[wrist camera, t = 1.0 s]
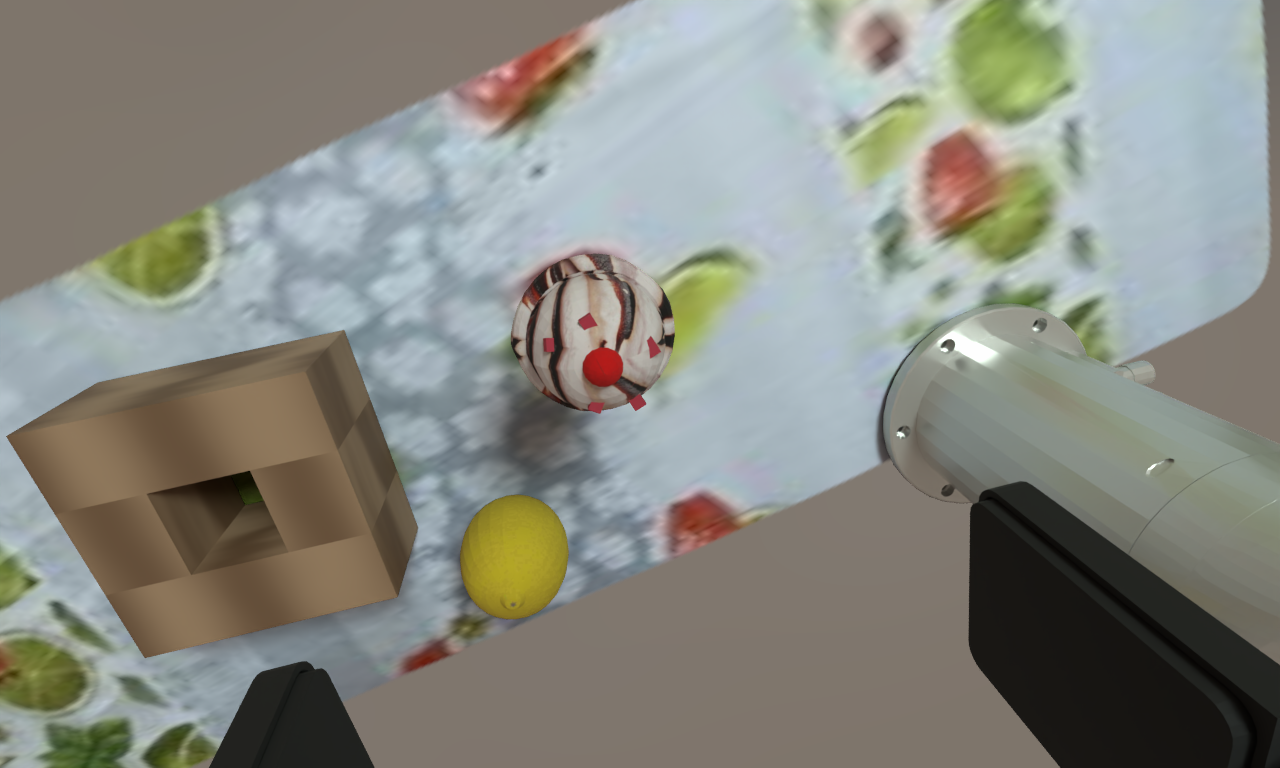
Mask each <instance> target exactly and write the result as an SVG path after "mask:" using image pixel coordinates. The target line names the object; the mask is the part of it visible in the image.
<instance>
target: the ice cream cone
mask: <svg viewBox="0 0 1280 768" xmlns="http://www.w3.org/2000/svg"><path fill="white" fill-rule="evenodd" d="M674 337H675V331H674V318H673V314H672V310H671V305H670V302H669V300H668V298H667V296H666V295H665V293H664V291H663V289H662V288H661V287H660V286H659V285H658V284H657V283H656V282H655V281H654V280H653V279H652V278H651V277H650V276H649V275H647V274H646V273H645V272H643V271H642V270H641V269H639V268H638V267H636V266H634V265H633V264H631V263H629V262H627V261H626V260H623V259H620V258H617V257H615V256H612V255H603V254H588V255H579V256H575V257H571V258H568V259H564V260H561V261H559V262H557V263H555V264H553V265H551V266H549V267H548V268H547V269H546V270H545V271H543V272H542V273H541V274H540V275H539V276H538V277H537V278H536V279H535V280H534V281H533V282H532V284H531V285H530V286H529V288H528V289H527V290H526V292H525V293H524V295H523V297H522V299H521V301H520V303H519V305H518V308H517V311H516V314H515V317H514V320H513V325H512V331H511V345H512V348H513V351H514V353H515V355H516V357H517V358H518V360H519V363H520V365H521V367H522V369H523V370H524V372H525V374H526V375H527V377H528V378H529V380H530V381H531V382H532V383H533V384H534V385H535V386H536V388H537V389H538V390H539V391H540V392H542V393H543V394H545V395H546V396H547V397H549V398H550V399H552V400H553V401H555V402H557V403H560V404H562V405H564V406H566V407H569V408H573V409H577V410H581V411H593V412H596V413H599V414H600V413H601V410H607V409H613V408H616V407H619V406H622V405H625V404H627V403H629V402H630V403H631V405H632V406H633V408H634V409H635V411H636V410H638V409H640V408H641V407H643V406H644V405H646V402H645V401H644V399H643V398H642V396H641V395H643V394H644V393H645V392H646V391H647V390H649V389H650V388H651V387H652V385H653V384H654V383H655V382H656V381H657V380H658V378H659V377H660V376H661V374H662V372H663V371H664V369H665V367H666V366H667V364H668V361H669V358H670V356H671V353H672V350H673V343H674Z"/></svg>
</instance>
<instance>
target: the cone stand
mask: <svg viewBox="0 0 1280 768" xmlns="http://www.w3.org/2000/svg"><path fill="white" fill-rule="evenodd" d="M6 437H7V438H8V440H9V442H10V443H11V445H12V446H13V448H14V450H15V451H16V453H17V454H18V456H19V458H20V459H21V461H22V462H23V464H24V466H25V467H26V469H27V470H28V472H29V474H30V475H31V477H32V478H33V480H34V482H35V483H36V485H37V486H38V488H39V490H40V491H41V493H42V494H43V496H44V498H45V499H46V501H47V502H48V504H49V506H50V507H51V509H52V510H53V512H54V514H55V515H56V517H57V518H58V520H59V522H60V523H61V525H62V526H63V528H64V530H65V531H66V533H67V534H68V536H69V538H70V539H71V541H72V542H73V544H74V546H75V547H76V549H77V550H78V552H79V554H80V555H81V557H82V558H83V560H84V562H85V563H86V565H87V566H88V568H89V570H90V571H91V573H92V574H93V576H94V578H95V579H96V581H97V582H98V584H99V586H100V587H101V589H102V590H103V592H104V594H105V595H106V597H107V598H108V600H109V602H110V603H111V605H112V606H113V608H114V610H115V611H116V613H117V614H118V616H119V618H120V619H121V621H122V622H123V624H124V626H125V627H126V629H127V630H128V632H129V634H130V635H131V637H132V638H133V640H134V642H135V643H136V645H137V646H138V648H139V650H140V651H141V653H142V654H143V656H144V658H147V657H151V656H156V655H160V654H164V653H168V652H172V651H176V650H181V649H185V648H189V647H193V646H197V645H201V644H205V643H210V642H214V641H218V640H222V639H226V638H230V637H235V636H239V635H243V634H247V633H251V632H255V631H259V630H264V629H268V628H272V627H276V626H280V625H284V624H289V623H293V622H297V621H301V620H305V619H309V618H313V617H318V616H322V615H326V614H330V613H334V612H338V611H343V610H347V609H351V608H355V607H359V606H363V605H367V604H372V603H376V602H380V601H384V600H388V599H392V598H396V597H398V594H399V591H400V587H401V584H402V580H403V577H404V574H405V570H406V567H407V563H408V560H409V557H410V553H411V550H412V547H413V543H414V540H415V536H416V533H417V530H418V526H417V523H416V521H415V518H414V515H413V513H412V510H411V507H410V505H409V502H408V499H407V497H406V494H405V491H404V489H403V486H402V483H401V481H400V478H399V475H398V473H397V470H396V467H395V465H394V462H393V459H392V457H391V454H390V451H389V449H388V446H387V443H386V441H385V438H384V435H383V433H382V430H381V427H380V424H379V422H378V419H377V416H376V414H375V411H374V408H373V406H372V403H371V400H370V398H369V395H368V392H367V390H366V387H365V384H364V382H363V379H362V376H361V374H360V371H359V368H358V366H357V363H356V360H355V358H354V355H353V352H352V350H351V347H350V344H349V342H348V339H347V336H346V334H345V331H344V330H342V331H338V332H333V333H328V334H323V335H319V336H314V337H309V338H305V339H300V340H295V341H291V342H286V343H281V344H277V345H272V346H267V347H263V348H258V349H253V350H248V351H244V352H239V353H234V354H230V355H225V356H220V357H216V358H211V359H206V360H202V361H197V362H192V363H187V364H183V365H178V366H173V367H169V368H164V369H159V370H155V371H150V372H145V373H141V374H136V375H131V376H126V377H122V378H117V379H112V380H108V381H103V382H98V383H96V384H94V385H93V386H91V387H89V388H88V389H86V390H84V391H82V392H81V393H79V394H77V395H76V396H74V397H72V398H71V399H69V400H67V401H65V402H64V403H62V404H60V405H59V406H57V407H55V408H53V409H52V410H50V411H48V412H47V413H45V414H43V415H42V416H40V417H38V418H36V419H35V420H33V421H31V422H30V423H28V424H26V425H25V426H23V427H21V428H19V429H18V430H16V431H14V432H13V433H11V434H9V435H8V436H6ZM246 471H250V472H251V474H252V476H253V478H254V480H255V482H256V485H257V487H258V489H259V491H260V493H261V495H262V497H263V499H264V501H261V502H257V503H252V504H248V505H245V504H244V502H243V500H242V498H241V496H240V494H239V492H238V490H237V488H236V486H235V484H234V482H233V480H232V478H231V476H230V475H232V474H237V473H241V472H246Z"/></svg>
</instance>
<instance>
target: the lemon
mask: <svg viewBox="0 0 1280 768" xmlns="http://www.w3.org/2000/svg"><path fill="white" fill-rule="evenodd" d="M568 555H569V550H568V543H567V537H566V532H565V530H564V527H563V525H562V523H561V521H560V519H559V517H558V516H557V515H556V514H555V512H554V511H553V510H552V509H551V508H550V507H549V506H548V505H546V504H545V503H543V502H542V501H540V500H538V499H535V498H532V497H530V496H524V495H510V496H505V497H502V498H499V499H496V500H494V501H492V502H490V503H489V504H487V505H485V506H484V507H483V508H482V509H481V510H480V511H479V512H478V513H477V514H476V515H475V516H474V518H473V519H472V521H471V523H470V524H469V526H468V528H467V530H466V532H465V535H464V538H463V542H462V546H461V551H460V564H461V575H462V579H463V582H464V585H465V587H466V590H467V592H468V594H469V596H470V598H471V599H472V600H473V601H474V603H475V604H476V605H477V606H478V607H479V608H481V609H482V610H483V611H485V612H486V613H488V614H490V615H492V616H495V617H498V618H503V619H519V618H524V617H528V616H530V615H533V614H535V613H537V612H539V611H540V610H541V609H543V608H544V607H546V606H547V605H548V604H549V603H550V602H551V600H552V599H553V598H554V597H555V596H556V594H557V593H558V590H559V588H560V586H561V584H562V582H563V580H564V577H565V574H566V569H567V562H568Z"/></svg>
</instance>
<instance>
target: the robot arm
mask: <svg viewBox="0 0 1280 768" xmlns="http://www.w3.org/2000/svg"><path fill="white" fill-rule="evenodd" d="M1154 379H1155V370H1154V368H1153V366H1152V365H1151V364H1150V363H1148V362H1147V361H1138V362H1133V363H1129V364H1125V365H1121V366H1119V367H1118V368H1114V367H1112V366H1110V365H1107V364H1105V363H1103V362H1100V361H1098V360H1096V359H1093V358H1091V357H1088V356H1087V355H1086V352H1085V348H1084V347H1083V345H1082V343H1081V341H1080V340H1079V338H1078V336H1077V334H1076V333H1075V332H1074V331H1073V330H1072V329H1071V328H1070V327H1069V326H1068V325H1067V324H1066V323H1065V322H1063V321H1062V320H1060V319H1058V318H1057V317H1055V316H1053V315H1052V314H1050V313H1047V312H1045V311H1042V310H1039V309H1037V308H1034V307H1030V306H1025V305H1020V304H1014V303H1013V304H993V305H988V306H984V307H979V308H975V309H973V310H970V311H968V312H965V313H963V314H961V315H958V316H956V317H954V318H952V319H951V320H949V321H948V322H946V323H944V324H943V325H941V326H940V327H938V328H936V329H935V330H934V331H933V332H932V333H931V334H930V335H928V336H927V337H926V338H925V339H924V340H923V341H922V342H920V343H919V345H918V346H917V347H916V348H915V349H914V351H913V352H912V353H911V354H910V355H909V356H908V358H907V359H906V360H905V362H904V363H903V365H902V367H901V368H900V370H899V372H898V373H897V375H896V377H895V379H894V381H893V384H892V386H891V389H890V391H889V394H888V396H887V401H886V406H885V410H884V416H883V434H884V439H885V444H886V449H887V452H888V454H889V456H890V458H891V460H892V462H893V465H894V466H895V467H896V468H897V470H898V471H899V472H900V473H901V475H902V476H903V477H904V478H905V479H906V480H907V481H909V482H910V483H911V484H912V485H913V486H914V487H915V488H916V489H918V490H920V491H921V492H923V493H924V494H926V495H928V496H929V497H932V498H935V499H938V500H941V501H945V502H954V503H973V505H972V507H971V512H970V576H969V647H970V650H971V653H972V656H973V658H974V660H975V662H976V664H977V665H978V667H979V668H980V669H981V671H982V672H983V673H984V674H985V676H986V677H987V678H988V679H989V681H990V682H991V683H992V684H993V685H994V687H995V688H996V689H997V690H998V692H999V693H1000V694H1001V695H1002V697H1003V698H1004V699H1005V700H1006V701H1007V703H1008V704H1009V705H1010V706H1011V708H1013V710H1014V711H1015V712H1016V714H1017V715H1018V716H1019V717H1020V718H1021V720H1022V721H1023V722H1024V723H1025V725H1026V726H1027V727H1028V728H1029V729H1030V731H1031V732H1032V733H1033V734H1034V736H1035V737H1036V738H1037V739H1038V741H1039V742H1040V743H1041V744H1042V745H1043V747H1044V748H1045V749H1046V750H1047V752H1048V753H1049V754H1050V755H1051V757H1052V758H1053V759H1054V760H1055V761H1056V762H1057V764H1058V765H1059V766H1060V768H1280V444H1278V443H1276V442H1273V441H1271V440H1269V439H1266V438H1264V437H1262V436H1260V435H1257V434H1255V433H1253V432H1250V431H1248V430H1246V429H1243V428H1241V427H1238V426H1236V425H1234V424H1231V423H1229V422H1227V421H1225V420H1222V419H1220V418H1218V417H1215V416H1213V415H1211V414H1208V413H1206V412H1204V411H1201V410H1199V409H1197V408H1195V407H1192V406H1190V405H1188V404H1185V403H1183V402H1181V401H1178V400H1176V399H1174V398H1171V397H1169V396H1167V395H1164V394H1163V393H1161V392H1157V391H1155V390H1153V389H1150V388H1148V387H1146V386H1143V385H1147V384H1150V383H1152V382H1153V381H1154ZM209 768H374V766H373V764H372V762H371V760H370V758H369V755H368V753H367V751H366V749H365V748H364V745H363V743H362V741H361V739H360V737H359V735H358V733H357V731H356V729H355V727H354V725H353V723H352V721H351V719H350V717H349V715H348V713H347V711H346V709H345V707H344V705H343V703H342V701H341V699H340V697H339V695H338V693H337V691H336V689H335V687H334V685H333V683H332V681H331V679H330V677H329V675H328V674H327V672H326V671H325V670H324V669H316V670H315V669H314V668H313V666H312V665H311V664H310V663H308V662H307V661H306V662H298V663H294V664H290V665H286V666H282V667H278V668H274V669H270V670H266V671H262V672H261V673H259V674H258V675H257V676H256V677H255V679H254V680H253V682H252V684H251V686H250V687H249V689H248V691H247V693H246V695H245V697H244V699H243V701H242V703H241V705H240V707H239V709H238V711H237V713H236V715H235V717H234V719H233V721H232V723H231V725H230V727H229V729H228V731H227V733H226V735H225V737H224V739H223V741H222V743H221V745H220V747H219V749H218V751H217V753H216V755H215V757H214V759H213V761H212V763H211V765H210V767H209Z"/></svg>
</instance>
